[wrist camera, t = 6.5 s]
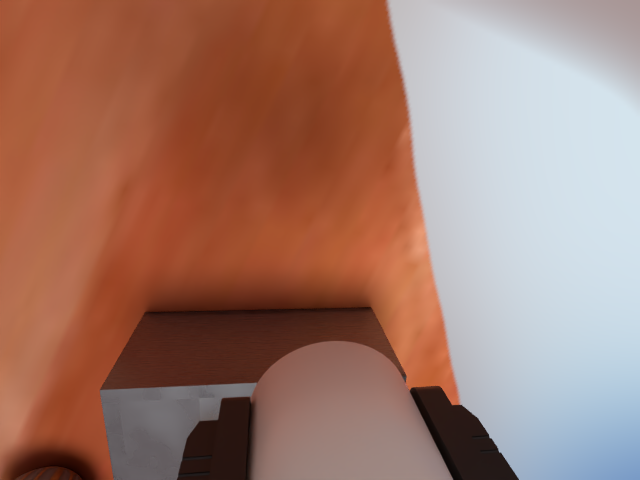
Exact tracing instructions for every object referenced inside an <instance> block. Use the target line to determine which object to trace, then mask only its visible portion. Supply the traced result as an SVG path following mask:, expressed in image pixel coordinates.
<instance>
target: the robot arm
mask: <svg viewBox="0 0 640 480" xmlns="http://www.w3.org/2000/svg"><path fill="white" fill-rule="evenodd" d="M410 393H411V395H412V397H413V399H414V401H415V403H416V405H417V407H418V409H419V412H420V414H421V416H422V418H423V420H424V422H425V424H426V426H427V428H428V430H429V432H430V434H431V436H432V438H433V440H434V442H435V444H436V446H437V448H438V450H439V452H440V454H441V456H442V458H443V460H444V462H445V464H446V466H447V468H448V470H449V472H450V474H451V476H452V478H453V480H519V479H518V478H517V476H516V475H515V473H514V472H513V470H512V469H511V467H510V466H509V464H508V463H507V461H506V460H505V458H504V457H503V455H502V454H501V453H499V451H498V448H497V446H496V445H495V444H494V442H493V440H492V439H491V438H489V434H488V433H487V431H486V430H485V428H484V427H483V425H482V424H481V422H480V421H479V419H478V418H477V417H475V416H474V415H473V414H472V413H471V412H469V411H468V410H467V409H466V408H464V407H463V406H462V405H452V404H451V403H450V401H449V399H448V398H447V396H446V394H445V393H444V391H443V390H442V388H441V387H439V386H429V387H413V388H411V390H410ZM250 409H251V397H250V396H247V397H229V398H222V400H221V405H220V411H219V417H218V420H208V421H199V423H198V424H197V425H196V427H195V428H194V429H193V431H192V432H191V433H190V435H189V436H188V437H187V440H186V444H185V448H184V452H183V456H182V461H181V464H180V468H179V473H178V478H177V480H246V478H247V461H248V444H249V426H250Z"/></svg>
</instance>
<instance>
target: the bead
mask: <svg viewBox="0 0 640 480" xmlns="http://www.w3.org/2000/svg"><path fill="white" fill-rule="evenodd" d="M246 480H453V478H452V476H451V474H450V472H449V470H448V468H447V466H446V464H445V462H444V460H443V458H442V456H441V454H440V452H439V450H438V448H437V446H436V444H435V442H434V440H433V438H432V436H431V434H430V432H429V430H428V428H427V426H426V424H425V422H424V420H423V418H422V416H421V414H420V412H419V409H418V407H417V405H416V403H415V401H414V399H413V397H412V395H411V393H410V391H409V389H408V387H407V385H406V383H405V381H404V379H403V377H402V375H401V373H400V372H399V370H398V369H397V367H396V366H395V365H394V364H393V363H392V362H391V361H390V360H389V359H388V358H387V357H386V356H384V355H383V354H382V353H380V352H378V351H376V350H375V349H373V348H370V347H368V346H365V345H362V344H358V343H354V342H347V341H327V342H319V343H315V344H310V345H307V346H304V347H301V348H299V349H297V350H295V351H292V352H290V353H289V354H287V355H285V356H284V357H282V358H281V359H279V360H278V361H277V362H276V363H274V364H273V365H272V366H271V367H270V368H269V369H268V370H267V371H266V372H265V373H264V374H263V376H262V377H261V378H260V380H259V381H258V383H257V385H256V387H255V388H254V391H253V393H252V396H251V409H250V426H249V444H248V461H247V478H246Z"/></svg>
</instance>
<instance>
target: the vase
mask: <svg viewBox="0 0 640 480" xmlns="http://www.w3.org/2000/svg"><path fill="white" fill-rule="evenodd" d="M14 480H82V478H81V477H80V476H79V475H78V474H77V473H75V472H74V471H72V470H70V469H67V468H64V467H58V466H50V467H43V468H39V469H35V470H32V471H29V472H27V473H25V474H23V475H21V476H19V477H17V478H16V479H14Z"/></svg>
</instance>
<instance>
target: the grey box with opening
mask: <svg viewBox="0 0 640 480" xmlns="http://www.w3.org/2000/svg"><path fill="white" fill-rule="evenodd" d="M327 341H347V342H354V343H358V344H362V345H365V346H368V347H370V348H373V349H375V350H376V351H378V352H380V353H382V354H383V355H384V356H386V357H387V358H388V359H389V360H390V361H391V362H392V363H393V364H394V365H395V366H396V367H397V369H398V370H399V372H400V373H401V375H402V377H403V379H404V381H405V383H406V374H405V372H404V370H403V368H402V366H401V364H400V362H399V360H398V358H397V357H396V355H395V353H394V351H393V349H392V347H391V345H390V343H389V341H388V339H387V337H386V335H385V333H384V331H383V329H382V327H381V325H380V324H379V322H378V320H377V318H376V316H375V314H374V312H373V310H372V308H371V307H367V308H322V309H278V310H233V311H189V312H145V314H144V315H143V317H142V319H141V320H140V322H139V324H138V326H137V327H136V329H135V331H134V332H133V334H132V336H131V338H130V339H129V341H128V343H127V344H126V346H125V348H124V349H123V351H122V353H121V355H120V356H119V358H118V360H117V361H116V363H115V365H114V367H113V368H112V370H111V372H110V373H109V375H108V377H107V378H106V380H105V382H104V384H103V385H102V387H101V389H100V395H101V402H102V408H103V414H104V421H105V427H106V433H107V440H108V446H109V452H110V459H111V465H112V471H113V478H114V480H177V478H178V473H179V468H180V464H181V461H182V456H183V452H184V448H185V444H186V440H187V437H188V436H189V435H190V433H191V432H192V431H193V429H194V428H195V427H196V425H197V424H198V423H199V421H208V420H218V417H219V411H220V405H221V400H222V398H229V397H247V396H250V397H251V396H252V393H253V391H254V388H255V387H256V385H257V383H258V381H259V380H260V378H261V377H262V376H263V374H264V373H265V372H266V371H267V370H268V369H269V368H270V367H271V366H272V365H273V364H274V363H276V362H277V361H278V360H279V359H281V358H282V357H284V356H285V355H287V354H289V353H290V352H292V351H295V350H297V349H299V348H301V347H304V346H307V345H310V344H315V343H319V342H327Z"/></svg>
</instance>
